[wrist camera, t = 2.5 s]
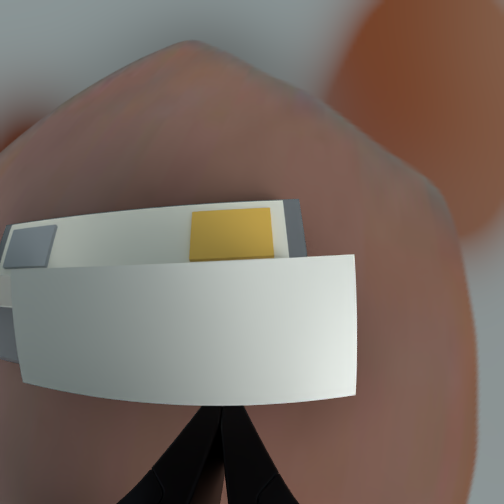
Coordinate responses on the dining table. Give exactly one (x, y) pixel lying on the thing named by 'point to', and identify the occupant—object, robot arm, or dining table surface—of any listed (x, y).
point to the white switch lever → (191, 330)
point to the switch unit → (151, 241)
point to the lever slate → (5, 291)
